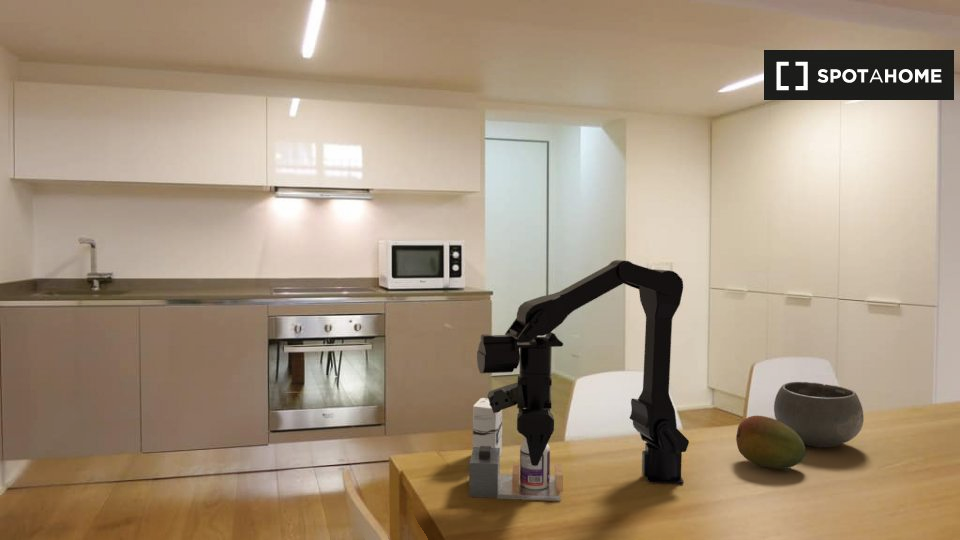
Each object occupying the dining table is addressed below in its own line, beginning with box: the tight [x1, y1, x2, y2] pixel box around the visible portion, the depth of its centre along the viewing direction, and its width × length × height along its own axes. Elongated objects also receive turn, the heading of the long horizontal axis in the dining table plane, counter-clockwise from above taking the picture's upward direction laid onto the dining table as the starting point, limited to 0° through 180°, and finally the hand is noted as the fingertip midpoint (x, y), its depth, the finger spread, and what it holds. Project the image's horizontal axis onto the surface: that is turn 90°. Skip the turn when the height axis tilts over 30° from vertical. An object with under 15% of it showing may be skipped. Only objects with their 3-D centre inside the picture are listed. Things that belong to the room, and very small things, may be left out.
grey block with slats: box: [468, 446, 564, 502], centre depth 119 cm, size 16×10×7 cm, turn 86°
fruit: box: [735, 415, 806, 470], centre depth 133 cm, size 12×12×10 cm
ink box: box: [472, 397, 503, 456], centre depth 136 cm, size 8×5×12 cm, turn 168°
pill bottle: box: [519, 436, 551, 490], centre depth 119 cm, size 5×5×10 cm
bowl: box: [773, 381, 864, 448], centre depth 147 cm, size 18×18×13 cm
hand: (534, 456), depth 119 cm, fingers open, 9 cm apart
